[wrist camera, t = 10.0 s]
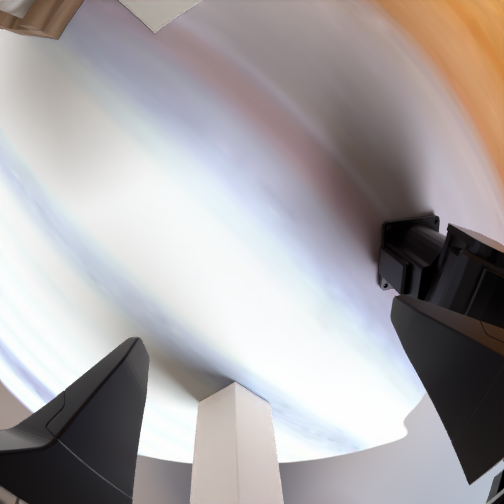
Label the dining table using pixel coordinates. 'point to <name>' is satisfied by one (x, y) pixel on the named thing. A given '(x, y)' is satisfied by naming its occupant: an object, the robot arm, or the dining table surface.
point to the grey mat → (158, 11)
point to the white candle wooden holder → (37, 16)
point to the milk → (235, 450)
